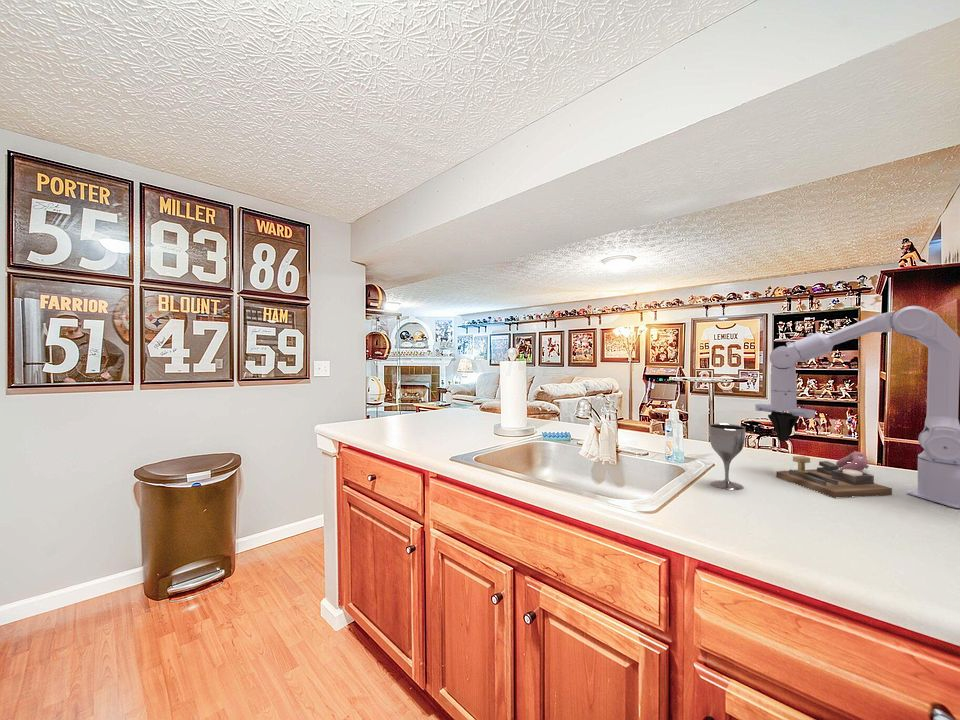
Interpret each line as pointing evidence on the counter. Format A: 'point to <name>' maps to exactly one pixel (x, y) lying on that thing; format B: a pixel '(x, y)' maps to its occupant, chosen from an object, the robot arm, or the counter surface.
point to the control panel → (836, 482)
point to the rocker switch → (828, 465)
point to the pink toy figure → (854, 461)
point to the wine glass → (727, 449)
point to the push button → (852, 472)
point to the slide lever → (801, 463)
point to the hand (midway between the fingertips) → (783, 440)
